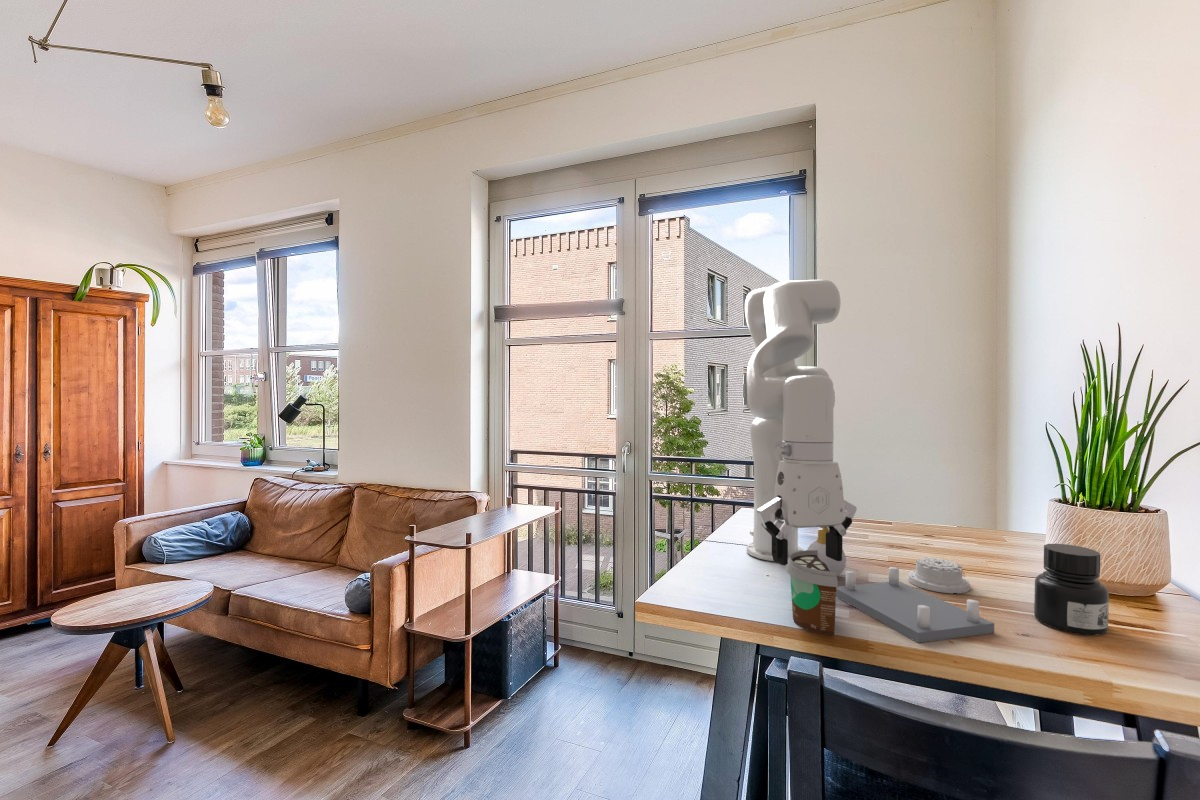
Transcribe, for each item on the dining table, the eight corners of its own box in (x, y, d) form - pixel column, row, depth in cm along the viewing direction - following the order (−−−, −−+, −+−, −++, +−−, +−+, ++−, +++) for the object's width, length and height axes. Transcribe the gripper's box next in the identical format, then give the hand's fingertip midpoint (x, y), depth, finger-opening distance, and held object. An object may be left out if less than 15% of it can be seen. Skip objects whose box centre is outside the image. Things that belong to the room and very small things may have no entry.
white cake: (919, 593, 101) (979, 597, 99) (919, 569, 100) (980, 573, 98) (901, 574, 110) (955, 578, 108) (901, 553, 110) (956, 556, 108)
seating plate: (833, 595, 99) (833, 570, 98) (898, 588, 102) (898, 564, 102) (918, 643, 80) (918, 612, 80) (994, 632, 83) (994, 603, 83)
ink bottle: (1086, 642, 80) (1088, 561, 80) (1020, 619, 89) (1021, 545, 88) (1121, 630, 84) (1123, 553, 84) (1055, 609, 92) (1056, 539, 92)
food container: (778, 605, 94) (779, 547, 94) (816, 607, 93) (816, 549, 93) (794, 637, 82) (794, 571, 82) (837, 640, 81) (837, 573, 81)
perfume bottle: (816, 583, 105) (816, 520, 105) (794, 566, 115) (794, 509, 114) (853, 582, 106) (854, 520, 105) (828, 565, 115) (829, 509, 115)
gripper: (771, 456, 81) (771, 571, 81) (871, 454, 85) (870, 564, 85) (746, 451, 88) (746, 557, 88) (838, 450, 92) (838, 551, 92)
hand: (807, 560), depth 87 cm, fingers open, 9 cm apart
